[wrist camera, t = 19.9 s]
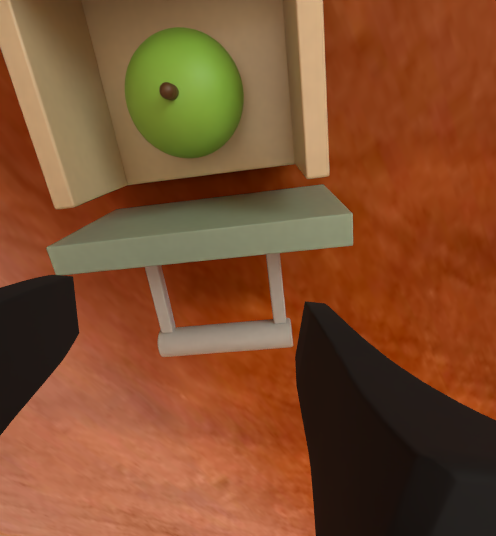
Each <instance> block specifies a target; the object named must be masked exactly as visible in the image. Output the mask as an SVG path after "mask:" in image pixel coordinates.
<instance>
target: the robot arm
mask: <svg viewBox="0 0 496 536" xmlns="http://www.w3.org/2000/svg"><path fill="white" fill-rule="evenodd" d="M78 334H79V327H78V318H77V309H76V300H75V291H74V282H73V277H71V276H61V275H48V276H42V277H38V278H34V279H30V280H26V281H22V282H19V283H15V284H12V285H8V286H5V287H1V288H0V435H1V434H2V433H3V431H4V430H5V429H6V428H7V426H8V425H9V424H10V422H11V421H12V420H13V419H14V418H15V416H16V415H17V414H18V413H19V412H20V410H21V409H22V408H23V407H24V406H25V405H26V403H27V402H28V401H29V400H30V399H31V397H32V396H33V395H34V394H35V393H36V392H37V390H38V389H39V388H40V387H41V386H42V385H43V383H44V382H45V381H46V380H47V379H48V377H49V376H50V375H51V374H52V373H53V371H54V370H55V369H56V368H57V366H58V365H59V364H60V363H61V361H62V360H63V359H64V357H65V356H66V354H67V353H68V351H69V350H70V348H71V346H72V345H73V343H74V341H75V339H76V338H77V336H78ZM295 361H296V383H297V390H298V396H299V402H300V408H301V413H302V419H303V424H304V430H305V435H306V441H307V446H308V452H309V459H310V466H311V476H312V488H313V501H314V515H315V530H316V536H496V420H494V419H491V418H489V417H487V416H485V415H483V414H481V413H479V412H477V411H475V410H473V409H471V408H469V407H467V406H465V405H463V404H461V403H459V402H457V401H455V400H454V399H452V398H450V397H448V396H447V395H445V394H443V393H441V392H439V391H438V390H436V389H434V388H432V387H431V386H429V385H427V384H426V383H424V382H422V381H421V380H419V379H418V378H416V377H415V376H413V375H412V374H410V373H409V372H407V371H406V370H404V369H403V368H401V367H400V366H398V365H397V364H395V363H394V362H393V361H391V360H390V359H388V358H387V357H386V356H385V355H383V354H382V353H381V352H379V351H378V350H377V349H376V348H374V347H373V346H372V345H371V344H370V343H368V342H367V341H366V340H365V339H364V338H362V337H361V336H360V335H359V334H358V333H357V332H356V331H355V330H353V329H352V328H351V327H350V326H349V325H348V324H347V323H346V322H345V321H344V320H343V319H342V318H341V317H340V316H338V315H337V314H336V313H335V312H334V311H333V310H332V309H331V308H330V307H329V306H327V305H326V304H324V303H315V302H305V305H304V310H303V316H302V322H301V328H300V333H299V339H298V345H297V350H296V356H295Z"/></svg>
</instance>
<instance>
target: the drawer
mask: <svg viewBox="0 0 496 536" xmlns="http://www.w3.org/2000/svg"><path fill="white" fill-rule="evenodd" d="M174 27H184V28H190V29H195V30H198V31H201V32H203V33H205V34H207V35H209V36H210V37H212V38H213V39H215V40H216V41H217V42H218V43H219V44H221V45H222V46H223V47H224V48H225V50H226V51H227V52H228V53H229V54H230V56H231V57H232V59H233V60H234V62H235V64H236V66H237V68H238V71H239V74H240V76H241V80H242V85H243V93H244V104H243V111H242V115H241V119H240V122H239V124H238V127H237V128H236V130H235V132H234V134H233V135H232V137H231V138H230V139H229V140H228V141H227V142H226V143H225V145H223V146H222V147H221V148H220V149H218V150H217V151H215V152H213V153H211V154H209V155H206V156H203V157H199V158H179V157H175V156H171V155H169V154H166V153H164V152H162V151H160V150H159V149H157V148H156V147H154V146H153V145H152V144H150V143H149V142H148V141H147V140H146V139H145V138H144V137H143V136H142V135H141V133H140V132H139V131H138V129H137V128H136V126H135V124H134V123H133V120H132V118H131V116H130V114H129V111H128V108H127V104H126V99H125V77H126V72H127V68H128V65H129V62H130V60H131V58H132V56H133V54H134V52H135V51H136V50H137V48H138V47H139V46H140V45H141V44H142V43H143V42H144V41H145V40H146V39H147V38H149V37H150V36H151V35H153V34H155V33H157V32H159V31H161V30H164V29H168V28H174ZM0 48H1V51H2V54H3V57H4V60H5V63H6V66H7V69H8V72H9V75H10V78H11V81H12V84H13V87H14V89H15V92H16V95H17V98H18V101H19V104H20V107H21V110H22V113H23V116H24V119H25V122H26V125H27V128H28V131H29V134H30V137H31V140H32V143H33V146H34V149H35V152H36V154H37V157H38V160H39V163H40V166H41V169H42V172H43V175H44V178H45V181H46V184H47V187H48V190H49V193H50V196H51V199H52V202H53V205H54V208H55V209H66V208H74V207H76V206H79V205H81V204H83V203H86V202H88V201H91V200H93V199H96V198H98V197H100V196H103V195H105V194H108V193H110V192H112V191H115V190H117V189H120V188H122V187H124V186H127V185H134V184H142V183H149V182H157V181H165V180H173V179H181V178H189V177H197V176H205V175H213V174H221V173H228V172H236V171H244V170H252V169H260V168H268V167H276V166H284V165H292V164H296V166H297V167H298V168H299V169H300V171H301V172H302V173H303V174H304V176H305V177H306V178H307V179H312V178H321V177H328V176H329V174H330V172H329V146H328V120H327V94H326V68H325V42H324V16H323V0H0ZM352 245H353V214H352V213H351V212H350V211H349V210H348V209H347V208H346V207H345V206H344V205H343V204H342V203H341V202H340V201H339V200H338V199H337V198H336V197H335V196H334V195H333V194H332V193H331V192H330V191H329V190H328V189H327V188H326V187H325V186H324V185H314V186H306V187H298V188H289V189H281V190H273V191H265V192H256V193H248V194H240V195H231V196H223V197H215V198H206V199H198V200H190V201H181V202H173V203H165V204H156V205H148V206H140V207H131V208H123V209H116V210H114V211H112V212H111V213H109V214H107V215H105V216H103V217H101V218H100V219H98V220H96V221H94V222H92V223H90V224H89V225H87V226H85V227H83V228H81V229H79V230H77V231H76V232H74V233H72V234H70V235H68V236H66V237H65V238H63V239H61V240H59V241H57V242H55V243H54V244H52V245H50V246H48V247H47V248H46V249H47V252H48V254H49V257H50V260H51V263H52V265H53V268H54V271H55V274H56V275H70V274H80V273H90V272H99V271H109V270H119V269H128V268H138V267H145V270H146V274H147V278H148V282H149V286H150V290H151V294H152V297H153V301H154V305H155V309H156V313H157V317H158V321H159V325H160V329H161V330H160V332H159V335H158V349H159V353H160V355H161V356H162V357H170V356H183V355H196V354H209V353H222V352H235V351H248V350H261V349H274V348H287V347H293V340H292V330H291V321H290V318H286V312H285V302H284V292H283V282H282V272H281V262H280V253H284V252H294V251H303V250H313V249H323V248H333V247H342V246H352ZM265 254H266V260H267V268H268V277H269V286H270V295H271V303H272V312H273V319H270V320H258V321H247V322H235V323H223V324H211V325H199V326H188V327H176V328H175V322H174V317H173V313H172V309H171V305H170V300H169V296H168V292H167V288H166V284H165V279H164V275H163V271H162V267H161V265H167V264H177V263H187V262H197V261H206V260H216V259H226V258H235V257H245V256H255V255H265Z"/></svg>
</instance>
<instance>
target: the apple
mask: <svg viewBox="0 0 496 536" xmlns="http://www.w3.org/2000/svg"><path fill="white" fill-rule="evenodd" d="M125 99H126V104H127V108H128V111H129V114H130V116H131V118H132V120H133V123H134V124H135V126H136V128H137V129H138V131H139V132H140V133H141V135H142V136H143V137H144V138H145V139H146V140H147V141H148V142H149V143H150V144H152V145H153V146H154V147H156V148H157V149H159V150H160V151H162V152H164V153H166V154H169V155H171V156H175V157H179V158H199V157H203V156H206V155H209V154H211V153H213V152H215V151H217V150H218V149H220V148H221V147H222V146H223V145H225V143H226V142H227V141H228V140H229V139H230V138H231V137H232V135H233V134H234V132H235V130H236V128H237V127H238V124H239V122H240V119H241V115H242V111H243V104H244V93H243V85H242V80H241V76H240V74H239V71H238V68H237V66H236V64H235V62H234V60H233V59H232V57H231V56H230V54H229V53H228V52H227V51H226V50H225V48H224V47H223V46H222V45H221V44H219V43H218V42H217V41H216V40H215V39H213V38H212V37H210V36H209V35H207V34H205V33H203V32H201V31H198V30H195V29H190V28H184V27H174V28H168V29H164V30H161V31H159V32H157V33H155V34H153V35H151V36H150V37H149V38H147V39H146V40H145V41H144V42H143V43H142V44H141V45H140V46H139V47H138V48H137V50H136V51H135V52H134V54H133V56H132V58H131V60H130V62H129V65H128V68H127V72H126V77H125Z"/></svg>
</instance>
